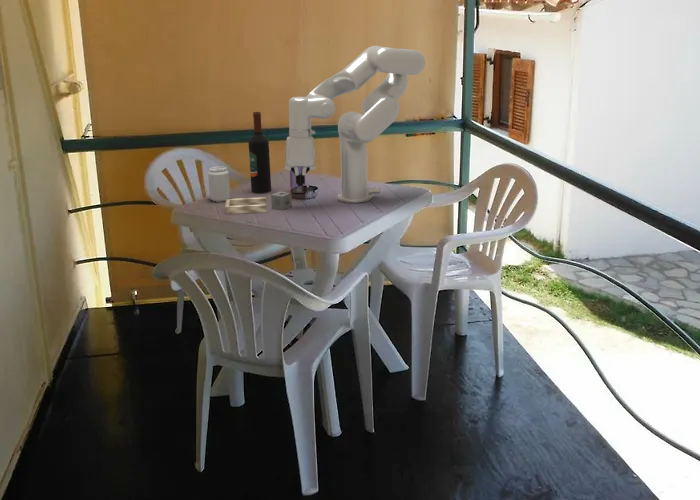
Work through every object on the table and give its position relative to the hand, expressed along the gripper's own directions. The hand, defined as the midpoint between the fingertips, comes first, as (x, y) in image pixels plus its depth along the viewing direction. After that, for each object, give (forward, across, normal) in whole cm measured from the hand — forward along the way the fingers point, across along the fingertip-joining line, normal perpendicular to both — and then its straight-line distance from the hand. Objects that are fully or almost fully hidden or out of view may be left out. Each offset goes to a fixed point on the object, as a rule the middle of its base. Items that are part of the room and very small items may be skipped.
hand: (300, 185), depth 255 cm
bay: (+8, +19, 0) cm, 21 cm away
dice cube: (+8, +6, -1) cm, 10 cm away
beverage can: (+8, 0, -20) cm, 22 cm away
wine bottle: (+8, +14, -24) cm, 29 cm away
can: (+9, +29, -14) cm, 33 cm away
